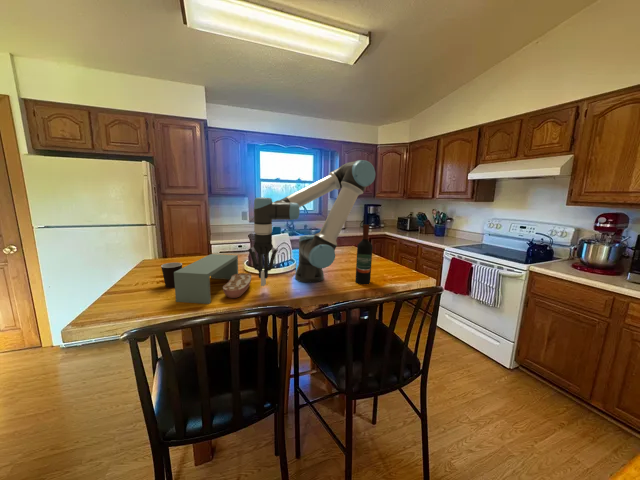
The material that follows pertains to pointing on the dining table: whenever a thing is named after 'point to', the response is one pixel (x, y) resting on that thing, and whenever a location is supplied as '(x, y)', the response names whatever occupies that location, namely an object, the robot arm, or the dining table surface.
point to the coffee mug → (170, 273)
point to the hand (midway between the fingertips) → (263, 284)
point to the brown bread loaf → (237, 285)
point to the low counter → (203, 277)
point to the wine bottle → (364, 258)
